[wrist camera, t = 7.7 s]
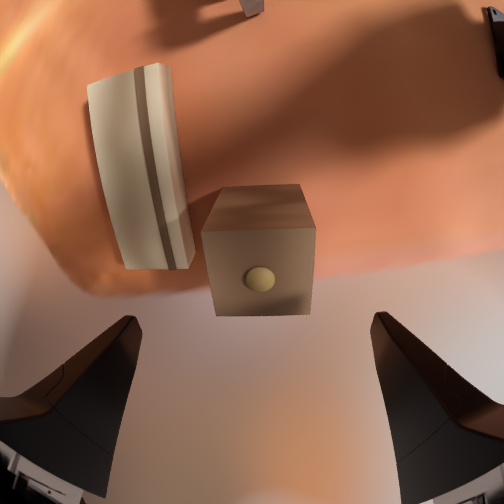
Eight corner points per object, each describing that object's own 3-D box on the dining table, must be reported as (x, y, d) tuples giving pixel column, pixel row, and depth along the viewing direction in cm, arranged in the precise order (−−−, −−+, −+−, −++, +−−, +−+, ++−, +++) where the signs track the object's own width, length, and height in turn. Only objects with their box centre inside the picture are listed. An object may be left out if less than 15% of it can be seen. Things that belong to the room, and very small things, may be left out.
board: (171, 66, 12) (157, 62, 10) (195, 252, 18) (188, 269, 16) (104, 85, 12) (86, 85, 11) (137, 254, 18) (125, 270, 17)
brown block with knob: (299, 184, 16) (316, 230, 10) (299, 250, 18) (310, 317, 12) (222, 187, 16) (199, 234, 11) (230, 252, 18) (215, 319, 13)
